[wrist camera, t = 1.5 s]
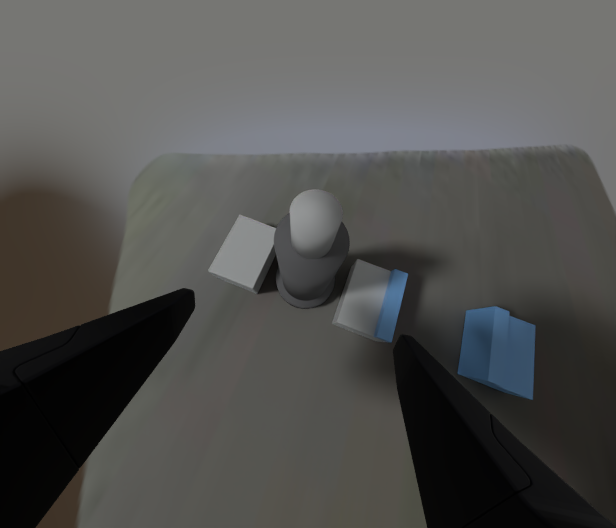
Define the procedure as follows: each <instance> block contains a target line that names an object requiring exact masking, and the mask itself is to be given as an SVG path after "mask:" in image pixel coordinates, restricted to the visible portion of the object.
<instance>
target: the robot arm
mask: <svg viewBox="0 0 616 528" xmlns="http://www.w3.org/2000/svg"><path fill="white" fill-rule="evenodd" d="M194 309H195V296H194V291H193V290H191V289H186V288H182V289H179V290H177V291H174V292H171V293H168V294H165V295H163V296H160V297H157V298H154V299H151V300H149V301H146V302H143V303H140V304H137V305H135V306H132V307H129V308H126V309H123V310H120V311H118V312H115V313H112V314H109V315H107V316H104V317H101V318H98V319H95V320H92V321H90V322H87V323H84V324H82V325H81V326H75V327H73V328H70V329H67V330H64V331H61V332H59V333H56V334H53V335H50V336H47V337H44V338H41V339H38V340H35V341H31V342H28V343H25V344H22V345H19V346H16V347H12V348H9V349H6V350H3V351H0V528H36V526H37V525H38V524H39V522H40V521H41V520H42V518H43V517H44V516H45V514H46V513H47V512H48V510H49V509H50V508H51V506H52V505H53V504H54V502H55V501H56V500H57V498H58V497H59V496H60V494H61V493H62V492H63V490H64V489H65V488H66V486H67V485H68V483H69V482H70V481H71V480H72V478H73V477H74V476H75V474H76V473H77V471H78V470H79V468H80V467H81V466H82V465H83V463H84V462H85V461H86V459H87V458H88V457H89V455H90V454H91V453H92V451H93V450H94V449H95V447H96V446H97V445H98V443H99V442H100V441H101V439H102V438H103V437H104V435H105V434H106V433H107V431H108V430H109V429H110V428H111V426H112V425H113V424H114V422H115V421H116V420H117V418H118V417H119V416H120V414H121V413H122V412H123V410H124V409H125V408H126V406H127V405H128V404H129V402H130V401H131V400H132V398H133V397H134V396H135V394H136V393H137V392H138V390H139V389H140V388H141V386H142V385H143V384H144V382H145V381H146V380H147V378H148V377H149V376H150V374H151V373H152V372H153V370H154V369H155V368H156V366H157V365H158V364H159V362H160V361H161V360H162V358H163V357H164V356H165V354H166V353H167V352H168V350H169V349H170V348H171V346H172V345H173V344H174V342H175V341H176V339H177V338H178V336H179V334H180V333H181V331H182V329H183V328H184V326H185V324H186V323H187V321H188V319H189V318H190V316H191V314H192V313H193V311H194ZM393 356H394V365H395V374H396V383H397V390H398V395H399V400H400V405H401V409H402V414H403V418H404V423H405V427H406V432H407V437H408V441H409V446H410V450H411V455H412V460H413V464H414V469H415V473H416V478H417V483H418V487H419V492H420V496H421V501H422V506H423V510H424V515H425V519H426V524H427V528H616V525H615V524H613V523H612V522H611V521H609V520H608V519H607V518H606V517H604V516H603V515H602V514H601V513H600V512H599V511H597V510H596V509H595V508H594V507H593V506H592V505H591V504H589V503H588V502H587V501H586V500H585V499H584V498H583V497H582V496H580V495H579V494H578V493H577V492H576V491H575V490H574V489H573V488H571V487H570V486H569V485H568V484H567V483H566V482H565V481H564V480H562V479H561V478H560V477H559V476H558V475H557V474H556V473H555V472H553V471H552V470H551V469H550V468H549V467H548V466H547V465H546V464H544V463H543V462H542V461H541V460H540V459H539V458H538V457H537V456H536V455H534V454H533V453H532V452H531V451H530V450H529V449H528V448H527V447H526V446H524V445H523V444H522V443H521V442H520V441H519V440H518V439H517V438H516V437H515V436H514V435H513V434H512V433H511V432H510V431H508V430H507V429H506V428H505V427H504V426H503V425H502V424H501V423H500V422H499V421H498V420H497V419H496V418H495V417H494V416H493V415H492V414H490V412H489V411H488V410H487V409H486V408H485V407H484V406H483V405H482V404H481V403H480V402H479V401H478V400H476V399H475V398H474V397H473V396H472V395H471V394H470V393H469V392H468V391H467V390H466V389H465V388H464V387H463V386H462V385H461V384H460V383H459V382H458V381H457V380H456V379H455V378H454V377H453V376H452V375H451V374H450V373H449V372H448V371H447V370H446V369H445V368H444V367H443V366H442V365H441V364H440V363H439V362H437V361H436V360H435V359H434V358H433V357H432V356H431V355H430V354H429V353H428V352H427V351H426V350H425V349H424V348H423V347H422V346H421V345H420V344H419V343H418V342H417V341H416V340H415V339H414V338H413V337H411V336H408V335H403V334H402V335H400V337H399V339H398V341H397V343H396V345H395V347H394V349H393Z"/></svg>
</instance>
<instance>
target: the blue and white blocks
mask: <svg viewBox="0 0 616 528" xmlns="http://www.w3.org/2000/svg"><path fill="white" fill-rule="evenodd" d="M275 230H276V228H274V227H271V226H269V225H266V224H263V223H261V222H258V221H255V220H253V219H250V218H247V217H245V216H242V215H239V217H238V219H237V220H236V222H235V224H234V226H233V227H232V229H231V231H230V233H229V235H228V236H227V238H226V240H225V242H224V243H223V245H222V247H221V249H220V251H219V252H218V254H217V256H216V258H215V259H214V261H213V263H212V265H211V266H210V268H209V270H208V271H209V272H210V273H211V274H213V275H214V276H215V277H217V278H218V279H221V280H223V281H226V282H228V283H231V284H233V285H236V286H238V287H241V288H243V289H246V290H248V291H251V292H253V293H256V294H258V292H259V290H260V288H261V285H262V283H263V281H264V279H265V277H266V275H267V273H268V270H269V268H270V266H271V264H272V262H273V260H274V258H275V255H276V252H275V248H274V234H275ZM407 277H408V273H405V272H402V271H400V270H397V269H394V270H392V271H389V270H386V269H383V268H381V267H378V266H375V265H373V264H370V263H367V262H365V261H362V260H359V259H357V260H356V261H355V263H354V264H353V265H352V266H351V269H350V272H349V275H348V278H347V281H346V283H345V286H344V289H343V292H342V295H341V298H340V301H339V304H338V307H337V310H336V313H335V316H334V319H333V322H332V324H334V325H336V326H339V327H341V328H344V329H346V330H349V331H351V332H354V333H356V334H359V335H361V336H364V337H366V338H369V339H371V340H374V341H376V342H390V343H392V339H393V335H394V331H395V327H396V322H397V318H398V314H399V310H400V306H401V302H402V298H403V293H404V289H405V285H406V281H407ZM535 326H536V325H533V324H530V323H528V322H525V321H522V320H520V319H517V318H514V317H512V316H509V311H507V310H504V309H501V308H499V307H496V306H493V307H487V308H480V309H474V310H467V311H466V317H465V324H464V331H463V338H462V345H461V352H460V359H459V367H458V374H459V375H462V376H464V377H467V378H469V379H472V380H474V381H477V382H479V383H482V384H484V385H487V386H489V387H492V388H494V389H497V390H499V391H502V392H504V393H508V394H512V395H515V396H519V397H523V398H527V399H530V400H533V382H534V354H535Z"/></svg>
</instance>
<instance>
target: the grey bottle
mask: <svg viewBox="0 0 616 528" xmlns="http://www.w3.org/2000/svg"><path fill="white" fill-rule="evenodd" d="M342 218H343V209H342V206H341V204H340V202H339V201H338V199H337V198H336V197H335V196H333V195H332V194H330V193H329V192H326V191H323V190H317V189H313V190H307V191H304V192H302V193H300V194H299V195H298V196H297V197H296V198H295V199H294V200H293V202H292V204H291V207H290V213H289V214H287V215H286V216H285V217H284V218H283V219H282V220H281V221H280V222H279V224H278V226H277V228H276V230H275V234H274V248H275V252H276V256H277V260H278V265H279V267H278V269H277V273H276V284H277V288H278V290H279V293H280V294H281V296H282V297H283V299H284V300H285V301H286V302H287V303H289V304H290V305H292V306H294V307H297V308H302V309H309V308H314V307H316V306H319V305H320V304H322V303H323V302H324V301H325V300H326V299H327V298H328V297H329V296H330V294H331V293H332V291H333V288H334V284H335V274H336V273H337V271H338V269H339V268H340V266H341V265H342V263H343V262H344V260H345V258H346V256H347V254H348V251H349V235H348V232H347V229H346V227H345V225H344V224H343V222H342Z"/></svg>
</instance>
